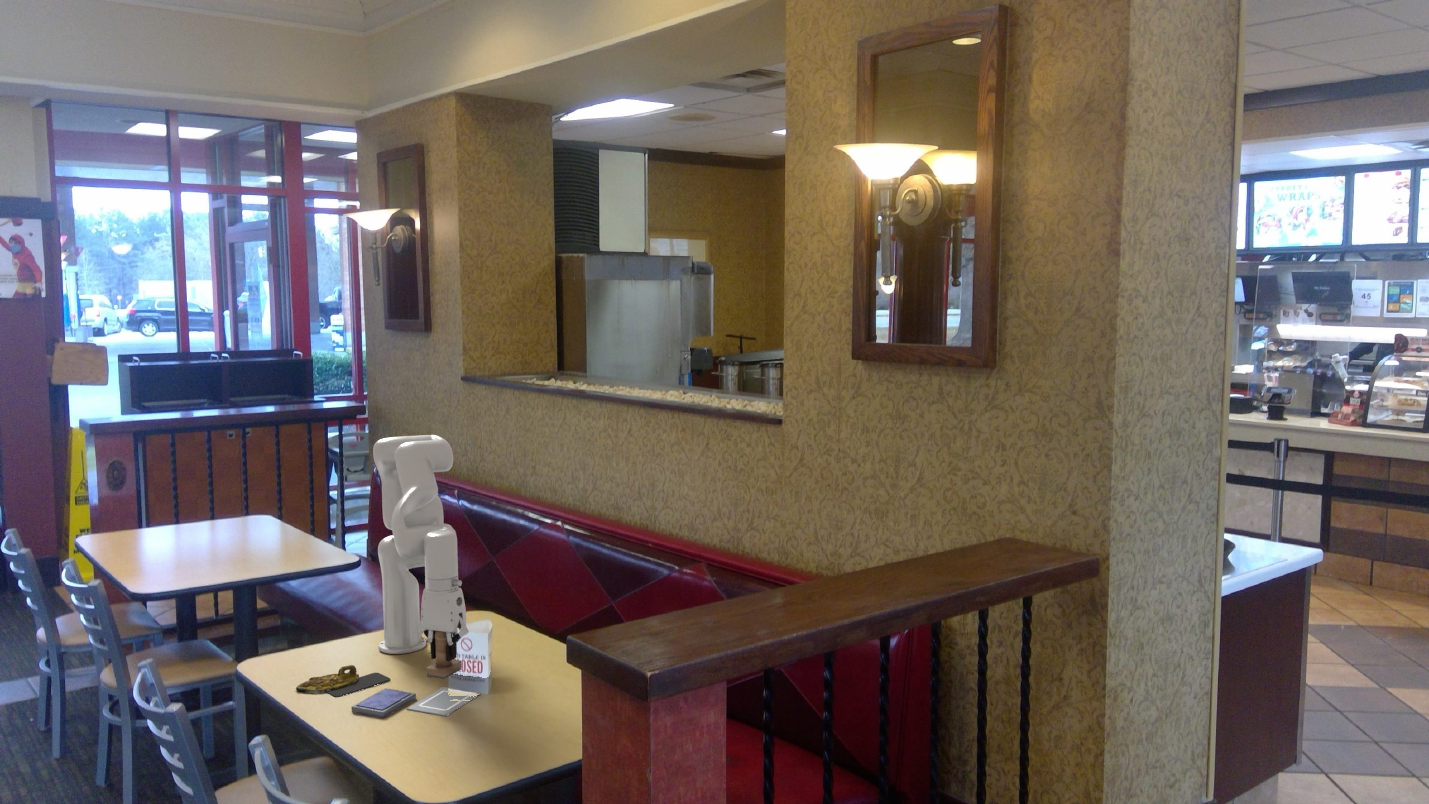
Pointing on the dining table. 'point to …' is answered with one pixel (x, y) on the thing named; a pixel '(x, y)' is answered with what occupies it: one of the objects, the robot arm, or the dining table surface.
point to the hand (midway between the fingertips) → (443, 657)
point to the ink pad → (383, 703)
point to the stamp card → (440, 703)
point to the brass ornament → (329, 681)
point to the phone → (360, 684)
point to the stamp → (442, 659)
